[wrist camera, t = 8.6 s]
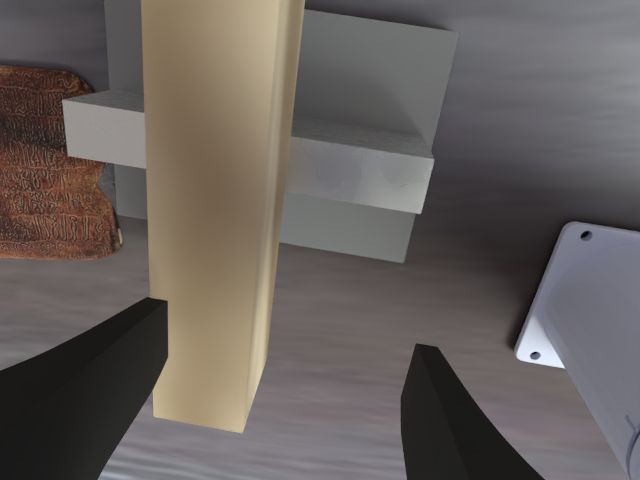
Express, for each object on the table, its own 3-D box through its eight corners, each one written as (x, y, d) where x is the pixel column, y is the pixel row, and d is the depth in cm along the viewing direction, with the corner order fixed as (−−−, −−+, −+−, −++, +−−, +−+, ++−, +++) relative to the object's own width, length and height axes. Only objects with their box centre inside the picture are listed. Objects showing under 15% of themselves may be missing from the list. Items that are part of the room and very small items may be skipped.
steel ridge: (422, 135, 19) (434, 159, 15) (412, 181, 20) (421, 214, 16) (120, 87, 19) (61, 99, 16) (123, 134, 20) (67, 156, 16)
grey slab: (453, 32, 18) (460, 32, 17) (401, 249, 23) (403, 263, 21) (121, -17, 19) (102, -21, 18) (132, 204, 23) (117, 214, 22)
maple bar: (314, -89, 13) (291, -138, 9) (266, 358, 19) (242, 433, 16) (203, -104, 13) (136, -159, 9) (194, 345, 20) (153, 416, 16)
